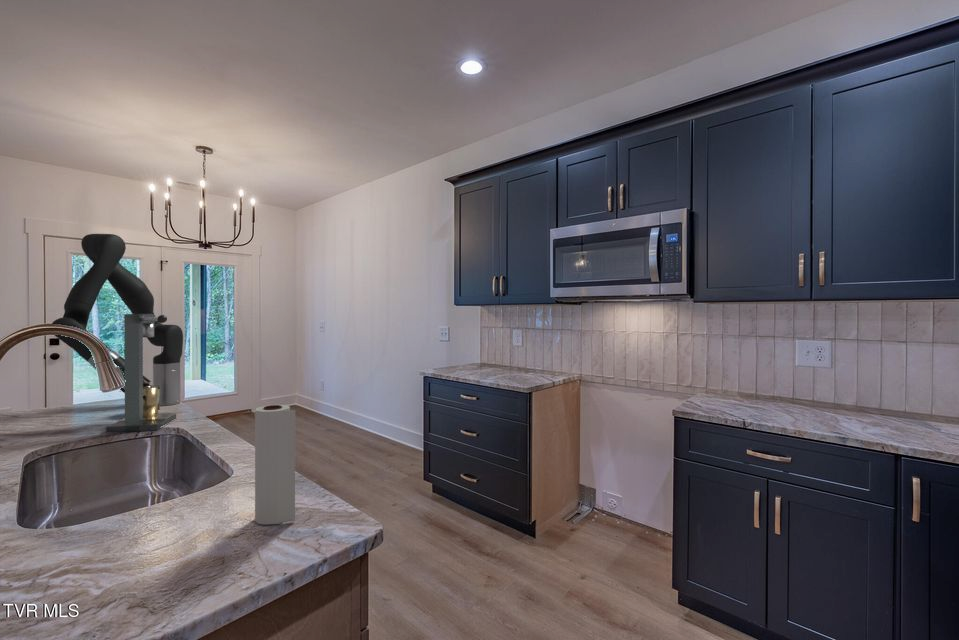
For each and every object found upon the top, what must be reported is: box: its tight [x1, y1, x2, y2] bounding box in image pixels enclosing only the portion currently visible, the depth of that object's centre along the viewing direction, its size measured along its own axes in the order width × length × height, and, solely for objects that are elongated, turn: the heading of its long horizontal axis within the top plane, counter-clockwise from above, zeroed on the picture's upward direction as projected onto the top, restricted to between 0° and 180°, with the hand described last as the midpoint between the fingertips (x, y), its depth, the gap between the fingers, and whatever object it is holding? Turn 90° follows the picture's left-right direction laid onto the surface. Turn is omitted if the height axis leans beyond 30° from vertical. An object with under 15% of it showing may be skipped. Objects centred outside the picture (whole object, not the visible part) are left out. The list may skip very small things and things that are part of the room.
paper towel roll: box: [254, 404, 296, 526], centre depth 82 cm, size 7×6×21 cm
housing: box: [143, 386, 159, 418], centre depth 150 cm, size 6×6×11 cm
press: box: [105, 313, 177, 433], centre depth 147 cm, size 15×16×38 cm
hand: (149, 396), depth 150 cm, fingers open, 8 cm apart
